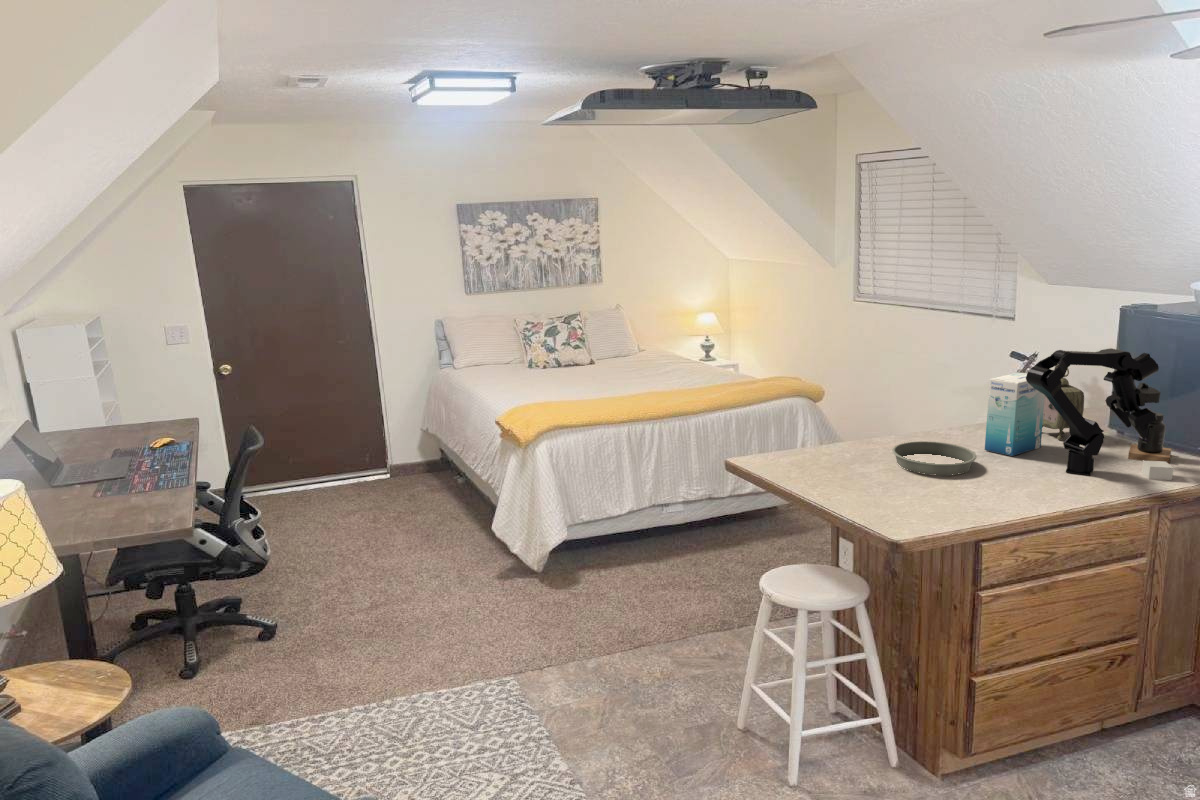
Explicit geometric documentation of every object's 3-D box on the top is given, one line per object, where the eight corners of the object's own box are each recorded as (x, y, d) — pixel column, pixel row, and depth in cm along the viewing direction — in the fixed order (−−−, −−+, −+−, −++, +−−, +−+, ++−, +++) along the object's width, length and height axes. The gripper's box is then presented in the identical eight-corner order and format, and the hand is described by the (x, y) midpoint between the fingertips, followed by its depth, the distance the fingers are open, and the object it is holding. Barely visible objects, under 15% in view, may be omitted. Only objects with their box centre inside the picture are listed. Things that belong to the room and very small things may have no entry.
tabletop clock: (1030, 431, 313) (1037, 361, 307) (1053, 429, 315) (1060, 359, 309) (1058, 442, 299) (1065, 369, 293) (1082, 440, 301) (1090, 367, 295)
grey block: (1148, 479, 261) (1150, 466, 260) (1141, 473, 266) (1143, 460, 265) (1171, 480, 259) (1173, 467, 258) (1164, 474, 265) (1165, 461, 264)
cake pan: (891, 475, 270) (892, 460, 269) (890, 452, 293) (891, 439, 292) (979, 480, 263) (980, 466, 262) (971, 457, 286) (972, 443, 285)
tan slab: (1128, 458, 280) (1128, 452, 279) (1130, 450, 289) (1131, 444, 288) (1169, 463, 274) (1170, 457, 273) (1170, 454, 283) (1171, 448, 282)
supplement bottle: (1133, 450, 281) (1138, 413, 278) (1141, 446, 285) (1145, 410, 283) (1158, 455, 276) (1163, 417, 273) (1165, 450, 281) (1170, 413, 278)
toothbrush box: (1012, 441, 302) (1018, 370, 296) (1042, 447, 294) (1048, 375, 288) (982, 450, 292) (988, 378, 286) (1012, 457, 284) (1019, 383, 278)
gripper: (1169, 388, 255) (1181, 434, 260) (1136, 368, 273) (1148, 411, 277) (1129, 402, 257) (1142, 448, 262) (1099, 381, 275) (1111, 424, 280)
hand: (1136, 432), depth 270 cm, fingers open, 9 cm apart
